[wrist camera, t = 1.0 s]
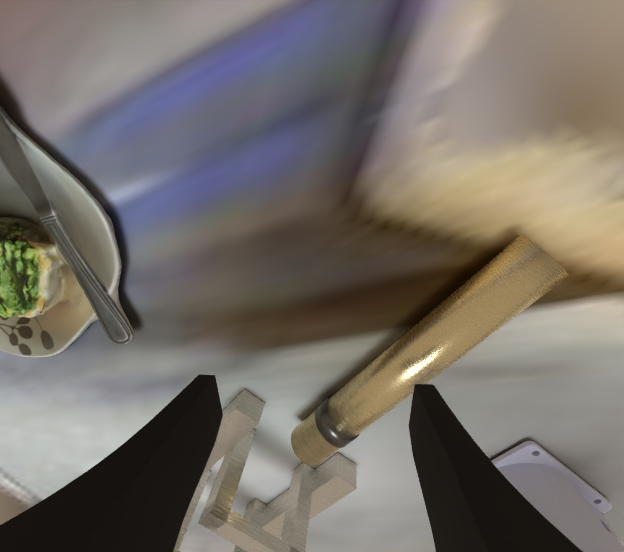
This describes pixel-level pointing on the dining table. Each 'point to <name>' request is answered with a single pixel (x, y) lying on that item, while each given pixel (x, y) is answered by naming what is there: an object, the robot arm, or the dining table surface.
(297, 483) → the wooden frame
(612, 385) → the dining table surface
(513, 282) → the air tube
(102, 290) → the salad plate
